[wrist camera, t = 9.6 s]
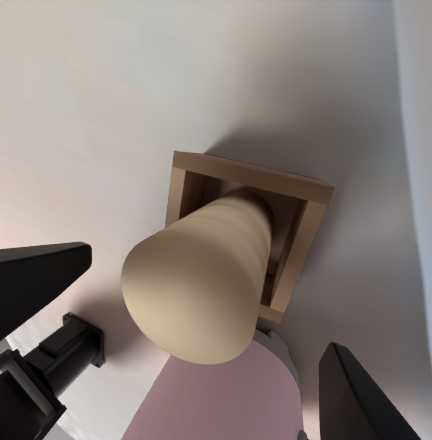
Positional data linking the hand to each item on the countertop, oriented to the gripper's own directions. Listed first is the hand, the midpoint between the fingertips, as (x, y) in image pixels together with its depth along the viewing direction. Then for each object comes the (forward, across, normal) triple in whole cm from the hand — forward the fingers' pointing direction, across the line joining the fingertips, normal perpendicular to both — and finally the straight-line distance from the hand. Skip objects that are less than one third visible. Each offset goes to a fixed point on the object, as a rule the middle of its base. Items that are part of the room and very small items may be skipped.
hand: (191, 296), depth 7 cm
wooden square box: (+10, 0, 0) cm, 10 cm away
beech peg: (+10, 0, 0) cm, 10 cm away
